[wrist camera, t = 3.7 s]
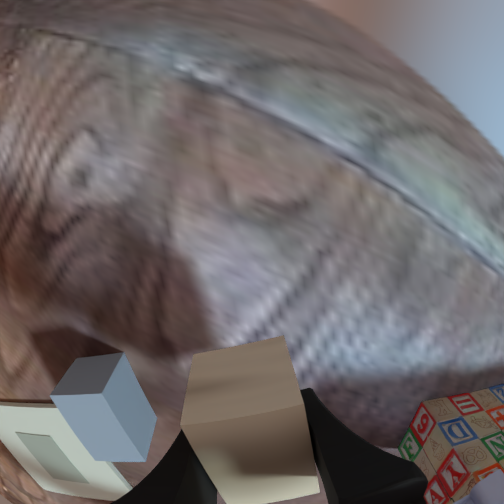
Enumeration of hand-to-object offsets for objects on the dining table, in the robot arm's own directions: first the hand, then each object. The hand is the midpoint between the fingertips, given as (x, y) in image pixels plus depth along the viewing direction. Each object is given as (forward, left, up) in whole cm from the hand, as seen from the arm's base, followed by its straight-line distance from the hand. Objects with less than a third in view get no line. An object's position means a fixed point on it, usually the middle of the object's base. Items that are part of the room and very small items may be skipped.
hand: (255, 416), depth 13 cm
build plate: (-10, +22, -6) cm, 25 cm away
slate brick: (-2, +10, -7) cm, 12 cm away
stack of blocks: (-16, -21, -7) cm, 28 cm away
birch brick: (0, 0, -1) cm, 1 cm away
